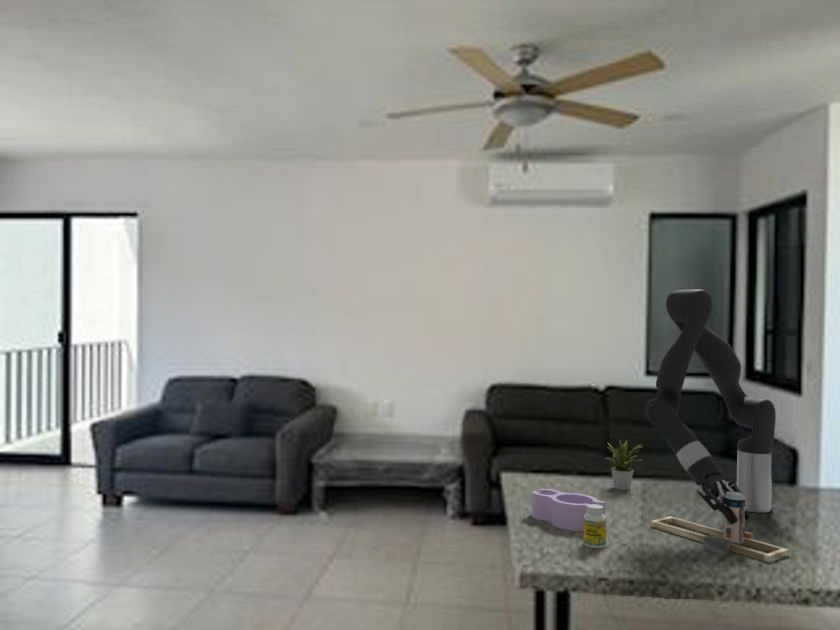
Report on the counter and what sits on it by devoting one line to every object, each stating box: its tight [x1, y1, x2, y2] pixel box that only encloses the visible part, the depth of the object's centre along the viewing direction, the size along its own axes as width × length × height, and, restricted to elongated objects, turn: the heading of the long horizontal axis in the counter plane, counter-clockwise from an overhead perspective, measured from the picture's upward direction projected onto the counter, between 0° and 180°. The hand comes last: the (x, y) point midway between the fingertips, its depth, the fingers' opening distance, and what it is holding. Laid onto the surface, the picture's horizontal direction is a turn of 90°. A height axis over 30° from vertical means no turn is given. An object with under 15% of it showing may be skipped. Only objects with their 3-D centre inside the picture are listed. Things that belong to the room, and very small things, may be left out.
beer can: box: [722, 491, 746, 545], centre depth 171 cm, size 5×5×12 cm
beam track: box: [650, 515, 790, 563], centre depth 174 cm, size 15×32×3 cm, turn 35°
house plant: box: [604, 438, 642, 491], centre depth 228 cm, size 14×14×16 cm
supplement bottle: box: [583, 504, 607, 549], centre depth 169 cm, size 5×5×10 cm
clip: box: [531, 488, 606, 532], centre depth 189 cm, size 20×12×7 cm, turn 44°
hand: (741, 520), depth 169 cm, fingers closed on beer can, 4 cm apart
